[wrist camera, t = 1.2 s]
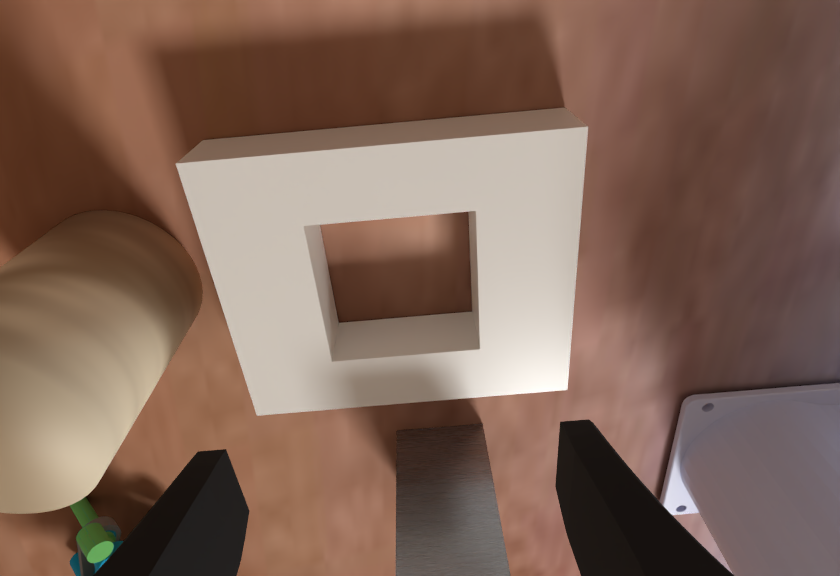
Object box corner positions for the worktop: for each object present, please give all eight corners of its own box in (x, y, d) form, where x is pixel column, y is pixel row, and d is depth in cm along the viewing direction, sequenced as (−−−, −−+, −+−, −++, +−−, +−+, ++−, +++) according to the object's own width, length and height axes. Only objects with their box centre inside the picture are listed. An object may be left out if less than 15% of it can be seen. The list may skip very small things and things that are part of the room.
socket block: (565, 107, 18) (588, 126, 15) (551, 350, 23) (567, 389, 20) (202, 140, 18) (175, 163, 16) (270, 373, 23) (256, 415, 21)
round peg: (175, 203, 19) (46, 336, 12) (220, 336, 22) (137, 504, 15) (13, 217, 19) (-208, 358, 12) (80, 348, 22) (-67, 521, 15)
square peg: (482, 423, 25) (514, 597, 18) (484, 481, 27) (513, 657, 20) (396, 430, 25) (395, 606, 18) (404, 488, 27) (406, 665, 20)
